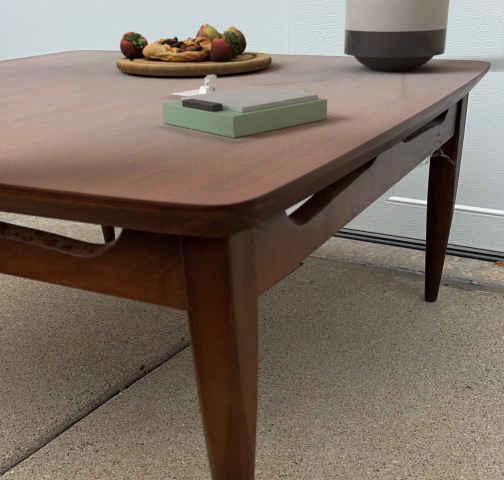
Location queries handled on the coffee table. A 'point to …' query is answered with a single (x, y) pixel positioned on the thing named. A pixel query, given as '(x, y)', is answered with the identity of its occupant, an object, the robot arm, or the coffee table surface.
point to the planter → (395, 32)
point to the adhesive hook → (202, 87)
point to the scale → (245, 111)
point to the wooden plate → (190, 54)
